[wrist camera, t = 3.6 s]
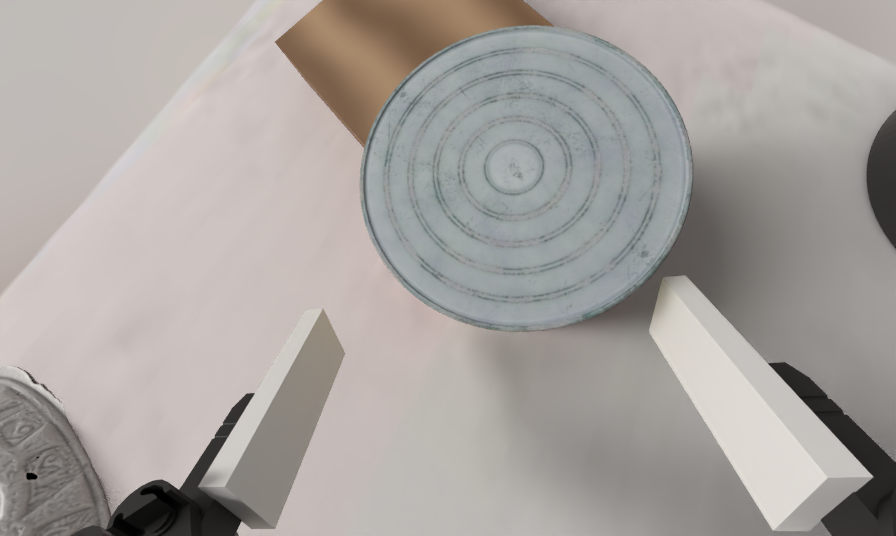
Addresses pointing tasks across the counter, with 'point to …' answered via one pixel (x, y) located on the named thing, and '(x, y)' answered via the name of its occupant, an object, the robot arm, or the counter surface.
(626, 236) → the canned food
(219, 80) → the counter surface
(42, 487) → the silver oval dome
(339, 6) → the walnut base
